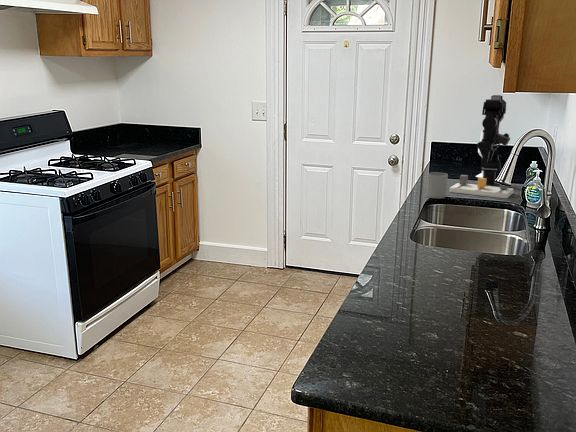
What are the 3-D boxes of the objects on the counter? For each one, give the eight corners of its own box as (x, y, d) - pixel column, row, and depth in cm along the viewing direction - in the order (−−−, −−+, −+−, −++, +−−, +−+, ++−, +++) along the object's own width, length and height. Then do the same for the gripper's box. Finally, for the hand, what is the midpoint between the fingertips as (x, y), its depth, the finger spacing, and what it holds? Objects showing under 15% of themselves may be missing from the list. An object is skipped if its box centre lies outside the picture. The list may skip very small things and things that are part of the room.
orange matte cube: (479, 186, 252) (479, 177, 251) (485, 187, 251) (486, 178, 250) (477, 187, 250) (478, 178, 249) (484, 188, 248) (484, 179, 247)
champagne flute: (491, 177, 285) (495, 130, 278) (478, 177, 285) (482, 130, 279) (486, 175, 291) (491, 129, 285) (474, 175, 291) (478, 129, 285)
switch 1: (461, 183, 260) (461, 174, 259) (467, 183, 258) (468, 175, 257) (459, 184, 257) (460, 175, 256) (465, 184, 256) (466, 176, 254)
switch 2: (501, 187, 250) (501, 178, 249) (508, 188, 248) (508, 179, 247) (499, 188, 248) (500, 179, 247) (506, 189, 246) (507, 180, 245)
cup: (447, 195, 246) (449, 173, 243) (444, 199, 238) (446, 176, 236) (428, 193, 249) (430, 171, 246) (424, 197, 242) (426, 174, 239)
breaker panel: (457, 186, 263) (458, 182, 262) (513, 193, 250) (513, 188, 249) (449, 191, 252) (449, 187, 252) (506, 198, 239) (507, 193, 239)
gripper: (504, 130, 237) (500, 166, 241) (514, 126, 253) (510, 160, 257) (478, 129, 243) (475, 164, 247) (488, 125, 258) (485, 158, 262)
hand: (487, 162), depth 253 cm, fingers open, 6 cm apart
